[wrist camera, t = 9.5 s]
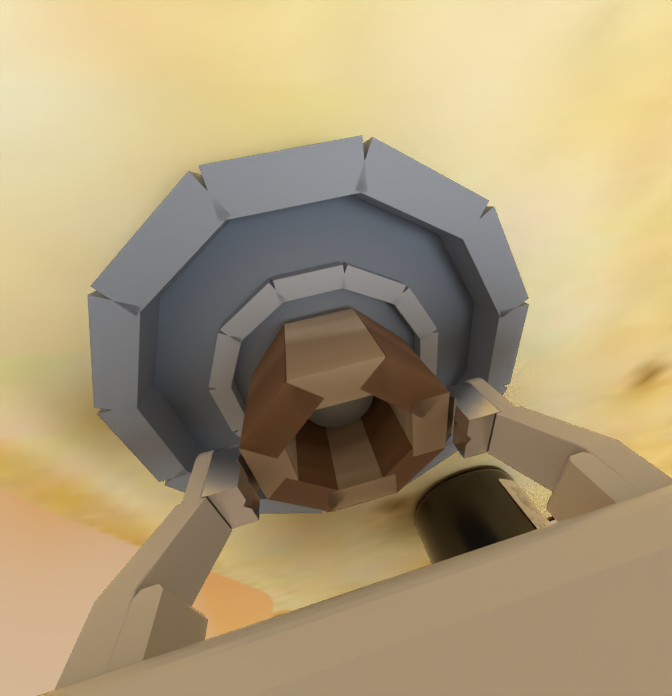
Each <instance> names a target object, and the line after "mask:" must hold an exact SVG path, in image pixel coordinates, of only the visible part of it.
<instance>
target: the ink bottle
mask: <svg viewBox="0 0 672 696" xmlns="http://www.w3.org/2000/svg"><path fill="white" fill-rule="evenodd" d="M415 525H416V528H417V530H418V533H419V535H420V537H421V540H422V542H423V544H424V547H425V549H426V551H427V554H428V556H429V558H430V561H431V563H432V564H434V563H437V562H440V561H443V560H446V559H449V558H452V557H455V556H458V555H461V554H464V553H467V552H470V551H473V550H476V549H479V548H482V547H485V546H488V545H491V544H494V543H497V542H500V541H503V540H506V539H509V538H512V537H515V536H518V535H521V534H524V533H527V532H530V531H533V530H536V529H539V528H542V527H545V526H548V525H551V523H550V522H549V521H548V519H547V518H546V517H545V516H544V515H543V514H542V512H541V511H540V510H539V509H538V508H537V506H536V505H535V504H534V503H533V502H532V501H531V499H530V498H529V497H528V496H527V495H526V493H525V492H524V491H523V490H522V489H521V488H520V486H519V485H518V484H517V483H516V482H515V481H514V479H513V478H512V477H511V476H510V475H509V474H507V473H506V472H504V471H502V470H499V469H480V470H475V471H471V472H467V473H464V474H461V475H458V476H456V477H453V478H451V479H449V480H447V481H445V482H443V483H441V484H440V485H438V486H437V487H435V488H434V489H432V490H431V491H430V492H429V493H428V494H427V495H426V496H425V497H424V498H423V500H422V501H421V502H420V504H419V506H418V508H417V510H416V513H415Z"/></svg>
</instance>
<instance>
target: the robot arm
mask: <svg viewBox="0 0 672 696" xmlns="http://www.w3.org/2000/svg"><path fill="white" fill-rule="evenodd" d="M446 389H447V390H448V391H449V392H450V393H449V406H448V420H447V433H448V434H450V435H452V436H453V438H452V443H453V444H454V445H455V447H456V448H457V449H458V451H459V452H460V453H461V455H462V456H463V458H467V457H471V456H474V455H478V454H482V453H485V452H488V453H489V454H490V455H492V456H494V457H495V458H497V459H499V460H500V461H502V462H504V463H505V464H507V465H509V466H510V467H512V468H514V469H515V470H517V471H519V472H520V473H522V474H524V475H525V476H527V477H529V478H530V479H532V480H534V481H535V482H537V483H539V484H540V485H542V486H544V487H546V488H547V489H549V490H551V491H552V495H551V497H550V499H549V501H548V503H547V510H548V511H549V512H550V514H551V515H552V516H553V517H554V518H555V519H556V520H553V521H549V522H550V523H551V525H548V526H545V527H542V528H539V529H536V530H533V531H530V532H527V533H524V534H521V535H518V536H515V537H512V538H509V539H506V540H503V541H500V542H497V543H494V544H491V545H488V546H485V547H482V548H479V549H476V550H473V551H470V552H467V553H464V554H461V555H458V556H455V557H452V558H449V559H446V560H443V561H440V562H437V563H434V564H431V565H428V566H425V567H422V568H419V569H416V570H413V571H410V572H407V573H404V574H401V575H398V576H395V577H392V578H389V579H386V580H383V581H380V582H377V583H374V584H371V585H368V586H365V587H362V588H359V589H356V590H353V591H350V592H347V593H344V594H341V595H338V596H335V597H332V598H329V599H326V600H323V601H320V602H317V603H314V604H311V605H308V606H305V607H302V608H299V609H296V610H293V611H290V612H287V613H284V614H281V615H278V616H275V617H272V618H269V619H267V620H263V621H260V622H257V623H255V624H251V625H248V626H246V627H242V628H239V629H236V630H233V631H230V632H227V633H225V634H221V635H219V636H215V637H212V638H209V639H206V640H205V635H206V629H207V622H208V620H207V618H206V617H205V615H203V614H202V613H201V612H199V611H198V610H196V609H195V608H193V607H192V604H193V603H194V601H195V599H196V597H197V595H198V593H199V591H200V589H201V588H202V585H203V584H204V582H205V580H206V578H207V576H208V575H209V573H210V571H211V569H212V567H213V565H214V563H215V561H216V560H217V558H218V556H219V554H220V552H221V550H222V548H223V546H224V545H225V543H226V541H227V539H228V537H229V535H230V533H231V532H232V530H231V529H233V528H236V527H239V526H242V525H245V524H248V523H251V522H254V521H257V520H259V508H260V498H259V496H258V494H257V490H258V489H259V487H260V486H259V484H258V482H257V480H256V479H255V477H254V475H253V473H252V472H251V470H250V468H249V466H248V465H247V463H246V461H245V459H244V457H243V456H242V454H241V452H240V450H239V445H240V443H239V444H235V445H231V446H227V447H223V448H219V449H215V450H212V451H208V452H204V453H200V454H199V455H198V456H197V458H196V460H195V463H194V467H193V470H192V473H191V476H190V479H189V482H188V485H187V489H186V492H185V495H184V498H183V501H182V504H180V505H177V506H176V507H175V508H174V509H173V510H172V512H171V513H170V514H169V515H168V516H167V517H166V519H165V520H164V521H163V522H162V523H161V524H160V526H159V527H158V528H157V529H156V530H155V532H154V533H153V534H152V535H151V536H150V537H149V539H148V540H147V541H146V542H145V543H144V544H143V546H142V547H141V548H140V549H139V550H138V552H137V553H136V554H135V555H134V556H133V557H132V559H131V560H130V561H129V562H128V563H127V564H126V566H125V567H124V568H123V569H122V570H121V571H120V573H119V574H118V575H117V576H116V577H115V579H114V580H113V581H112V582H111V583H110V584H109V586H108V587H107V588H106V589H105V590H104V591H103V593H102V594H101V595H100V596H99V598H97V600H96V601H95V602H94V605H93V607H92V609H91V611H90V613H89V615H88V618H87V620H86V622H85V624H84V627H83V629H82V631H81V633H80V635H79V637H78V640H77V642H76V644H75V646H74V648H73V651H72V653H71V655H70V657H69V659H68V662H67V664H66V666H65V668H64V670H63V673H62V675H61V677H60V679H59V681H58V683H57V686H56V688H55V690H54V691H51V692H47V693H45V694H41V695H38V696H672V478H670V477H669V476H668V475H666V474H665V473H663V472H662V471H661V470H659V469H658V468H656V467H655V466H653V465H652V464H651V463H649V462H648V461H646V460H645V459H644V458H642V457H641V456H639V455H638V454H636V453H635V452H634V451H632V450H631V449H629V448H628V447H627V446H625V445H624V444H622V443H621V442H619V441H618V440H616V439H613V438H610V437H607V436H604V435H601V434H598V433H595V432H593V431H590V430H587V429H584V428H581V427H578V426H575V425H572V424H569V423H567V422H564V421H561V420H558V419H555V418H552V417H549V416H546V415H544V414H541V413H538V412H535V411H532V410H529V409H526V408H523V407H517V408H516V407H515V406H514V405H513V404H511V403H510V402H509V401H508V400H507V399H506V398H504V397H503V396H502V395H501V394H500V393H499V392H497V391H496V390H495V389H494V388H493V387H492V386H490V385H489V384H488V383H487V382H486V381H485V380H483V379H482V378H479V377H478V378H474V379H471V380H467V381H465V382H460V383H456V384H453V385H449V386H446Z"/></svg>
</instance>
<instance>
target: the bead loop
mask: <svg viewBox="0 0 672 696" xmlns="http://www.w3.org/2000/svg"><path fill="white" fill-rule="evenodd" d="M449 393H450V392H449V391H448V390H447V389H446V387H445V386H444V385H443V384H442V383H441V382H440V381H439V380H438V378H437V377H436V376H435V375H434V374H433V373H432V372H431V371H430V369H429V368H428V367H427V366H426V365H425V364H424V363H423V362H422V360H421V359H420V358H419V357H418V356H417V355H416V354H415V353H414V351H413V350H412V349H411V348H410V347H409V346H408V345H407V344H406V342H405V341H404V340H403V339H402V338H400V337H399V336H397V335H395V334H394V333H392V332H391V331H389V330H388V329H386V328H384V327H383V326H381V325H380V324H378V323H376V322H375V321H373V320H372V319H370V318H368V317H367V316H365V315H364V314H362V313H361V312H359V311H357V310H356V309H353V308H351V309H346V310H342V311H338V312H334V313H330V314H325V315H321V316H317V317H313V318H309V319H304V320H300V321H296V322H292V323H288V324H284V325H283V326H282V328H281V330H280V331H279V333H278V334H277V336H276V338H275V339H274V341H273V342H272V344H271V345H270V347H269V349H268V350H267V352H266V353H265V355H264V356H263V358H262V360H261V361H260V363H259V364H258V366H257V368H256V369H255V371H254V372H253V374H252V375H251V378H250V384H249V390H248V396H247V403H246V409H245V415H244V421H243V427H242V433H241V439H240V445H239V450H240V452H241V454H242V456H243V457H244V459H245V461H246V463H247V465H248V466H249V468H250V470H251V472H252V473H253V475H254V477H255V479H256V480H257V482H258V484H259V486H260V487H261V489H262V491H263V493H264V495H265V496H266V498H267V499H268V500H273V501H278V502H283V503H289V504H294V505H299V506H304V507H309V508H314V509H319V510H324V511H329V512H331V511H332V512H333V511H336V510H339V509H343V508H346V507H349V506H353V505H356V504H360V503H363V502H366V501H370V500H373V499H376V498H380V497H383V496H386V495H390V494H393V493H397V492H398V491H399V490H401V489H402V488H403V487H404V486H405V485H406V484H407V483H408V482H409V481H410V480H411V479H412V478H413V477H415V476H416V475H417V474H418V473H419V472H420V471H421V470H422V469H423V468H424V467H425V466H426V465H428V464H429V463H430V462H431V461H432V460H433V459H434V458H435V457H436V456H437V455H438V454H439V453H440V452H442V451H443V450H444V449H445V446H446V433H447V420H448V406H449ZM370 395H373V400H372V403H371V405H370V407H369V409H368V410H367V412H366V413H365V414H364V415H363V416H362V417H361V418H359V419H358V420H356V421H354V422H353V423H350V424H348V425H345V426H341V427H323V426H320V425H317V424H315V423H313V422H312V421H311V420H309V417H310V416H311V415H312V413H313V412H314V411H315V410H317V409H321V408H325V407H329V406H333V405H336V404H340V403H344V402H348V401H351V400H355V399H359V398H363V397H366V396H370Z"/></svg>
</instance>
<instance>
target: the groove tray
mask: <svg viewBox="0 0 672 696" xmlns="http://www.w3.org/2000/svg"><path fill="white" fill-rule="evenodd" d="M199 168H200V171H201V173H202V175H199V174H196V173H192V172H189V171H188V172H187V173H186V175H185V176H184V177H183V178H182V179H181V180H180V182H179V183H178V184H177V185H176V186H175V188H174V189H173V190H172V191H171V192H170V193H169V195H168V196H167V197H166V198H165V199H164V200H163V202H162V203H161V204H160V205H159V206H158V207H157V209H156V210H155V211H154V212H153V213H152V215H151V216H150V217H149V218H148V219H147V220H146V222H145V223H144V224H143V225H142V226H141V227H140V229H139V230H138V231H137V232H136V233H135V235H134V236H133V237H132V238H131V239H130V240H129V242H128V243H127V244H126V245H125V246H124V247H123V249H122V250H121V251H120V252H119V253H118V255H117V256H116V257H115V258H114V259H113V260H112V262H111V263H110V264H109V265H108V266H107V267H106V269H105V270H104V271H103V272H102V273H101V274H100V276H99V277H98V278H97V279H96V280H95V282H94V283H93V284H92V285H91V287H92V288H94V289H95V290H97V291H95V292H93V293H91V294H89V295H88V310H89V327H90V344H91V361H92V379H93V396H94V408H101V410H100V411H99V412H98V416H99V417H100V418H101V419H102V420H103V421H104V422H105V423H106V424H107V425H108V426H109V427H110V429H111V430H112V431H113V432H114V433H115V434H116V435H117V436H118V437H119V438H120V439H121V441H122V442H123V443H124V444H125V445H126V446H127V447H128V448H129V449H130V450H131V451H132V453H133V454H134V455H135V456H136V457H137V458H138V459H139V460H140V461H141V462H142V463H143V465H144V466H145V467H146V468H147V469H148V470H149V471H150V472H151V473H152V474H153V475H154V477H155V478H156V479H157V480H158V481H159V482H161V481H164V480H166V482H165V485H166V486H168V487H171V488H174V489H177V490H180V491H182V492H186V489H187V485H188V482H189V479H190V476H191V473H192V470H193V467H194V463H195V460H196V458H197V456H198V455H199V454H200V453H204V452H208V451H212V450H215V449H219V448H223V447H227V446H231V445H235V444H239V443H240V439H241V433H242V427H243V421H244V415H245V409H246V403H247V396H248V390H249V384H250V378H251V375H252V374H253V372H254V371H255V369H256V368H257V366H258V364H259V363H260V361H261V360H262V358H263V356H264V355H265V353H266V352H267V350H268V349H269V347H270V345H271V344H272V342H273V341H274V339H275V338H276V336H277V334H278V333H279V331H280V330H281V328H282V326H283V325H284V324H288V323H292V322H296V321H300V320H304V319H309V318H313V317H317V316H321V315H325V314H330V313H334V312H338V311H342V310H346V309H351V308H353V309H356V310H357V311H359V312H361V313H362V314H364V315H365V316H367V317H368V318H370V319H372V320H373V321H375V322H376V323H378V324H380V325H381V326H383V327H384V328H386V329H388V330H389V331H391V332H392V333H394V334H395V335H397V336H399V337H400V338H402V339H403V340H404V341H405V342H406V344H407V345H408V346H409V347H410V348H411V349H412V350H413V351H414V353H415V354H416V355H417V356H418V357H419V358H420V359H421V360H422V362H423V363H424V364H425V365H426V366H427V367H428V368H429V369H430V371H431V372H432V373H433V374H434V375H435V376H436V377H437V378H438V380H439V381H440V382H441V383H442V384H443V385H444V386H445V387H446V386H449V385H453V384H456V383H460V382H465V381H467V380H471V379H474V378H478V377H479V378H482V379H483V380H485V381H486V382H487V383H488V384H489V385H490V386H492V387H493V388H494V389H495V390H496V391H497V392H499V393H500V394H501V395H503V394H504V392H505V391H506V390H507V388H506V387H505V386H504V385H507V384H510V381H511V377H512V373H513V368H514V364H515V360H516V356H517V352H518V347H519V343H520V339H521V335H522V331H523V326H524V322H525V318H526V314H527V309H528V305H529V304H527V303H524V301H526V300H527V299H528V295H527V293H526V290H525V287H524V285H523V282H522V279H521V277H520V274H519V271H518V269H517V266H516V264H515V261H514V258H513V256H512V253H511V250H510V248H509V245H508V242H507V240H506V237H505V234H504V232H503V229H502V226H501V224H500V221H499V218H498V216H497V213H496V210H495V208H494V207H489V206H487V204H488V202H489V200H487V199H485V198H483V197H482V196H480V195H478V194H476V193H474V192H472V191H471V190H469V189H467V188H465V187H463V186H461V185H460V184H458V183H456V182H454V181H452V180H450V179H449V178H447V177H445V176H443V175H441V174H439V173H438V172H436V171H434V170H432V169H430V168H429V167H427V166H425V165H423V164H421V163H419V162H418V161H416V160H414V159H412V158H410V157H408V156H407V155H405V154H403V153H401V152H399V151H397V150H396V149H394V148H392V147H390V146H388V145H386V144H385V143H383V142H381V141H379V140H377V139H375V138H374V137H372V138H371V139H369V140H367V141H366V142H364V143H363V139H362V135H361V136H356V137H350V138H345V139H339V140H334V141H329V142H323V143H318V144H312V145H307V146H301V147H296V148H291V149H285V150H280V151H274V152H269V153H263V154H258V155H252V156H247V157H242V158H236V159H231V160H225V161H220V162H214V163H209V164H204V165H199ZM372 400H373V395H370V396H366V397H363V398H359V399H355V400H351V401H348V402H344V403H340V404H336V405H333V406H329V407H325V408H321V409H317V410H315V411H314V412H313V413H312V415H311V416H310V417H309V420H311V421H312V422H313V423H315V424H317V425H320V426H323V427H341V426H345V425H348V424H350V423H353V422H354V421H356V420H358V419H359V418H361V417H362V416H363V415H364V414H365V413H366V412H367V410H368V409H369V407H370V405H371V403H372ZM452 438H453V436H452V435H450V434H448V433H446V446H445V449H444V450H443V451H442V452H440V453H439V454H438V455H437V456H436V457H435V458H434V459H433V460H432V461H431V462H430V463H429V464H428V465H426V466H425V467H424V468H423V469H422V470H421V471H420V472H419V473H418V474H417V475H416V476H415V477H413V478H412V479H411V480H410V481H409V482H408V483H410V482H411V481H413V480H414V479H416V478H417V477H419V476H420V475H422V474H423V473H425V472H426V471H428V470H429V469H431V468H432V467H434V466H435V465H437V464H438V463H440V462H441V461H443V460H444V459H446V458H447V457H449V456H450V455H452V454H453V453H455V452H456V451H458V449H457V448H456V447H455V445H454V444H453V443H452ZM408 483H407V484H408ZM257 494H258V496H259V498H260V508H259V513H322V511H323V510H319V509H314V508H309V507H304V506H299V505H294V504H289V503H283V502H278V501H273V500H268V499H267V498H266V496H265V495H264V493H263V491H262V489H261V487H259V489H258V490H257ZM326 512H329V511H326Z"/></svg>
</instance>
